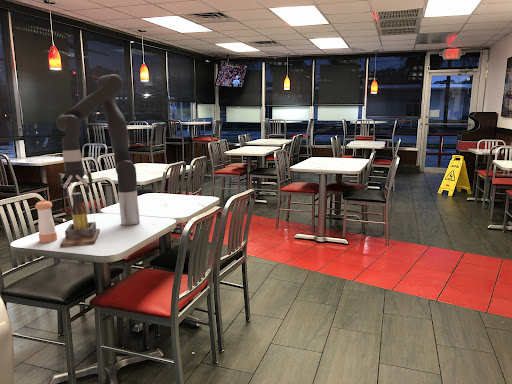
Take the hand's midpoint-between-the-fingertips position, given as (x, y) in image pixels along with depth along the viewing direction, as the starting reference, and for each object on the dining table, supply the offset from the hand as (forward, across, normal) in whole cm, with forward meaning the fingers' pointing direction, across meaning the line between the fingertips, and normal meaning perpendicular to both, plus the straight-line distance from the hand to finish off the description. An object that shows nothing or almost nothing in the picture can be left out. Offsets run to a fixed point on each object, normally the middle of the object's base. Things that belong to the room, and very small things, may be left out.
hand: (77, 195), depth 187 cm
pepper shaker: (+20, +15, -1) cm, 25 cm away
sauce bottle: (+19, 0, 0) cm, 19 cm away
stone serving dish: (+20, 0, +2) cm, 20 cm away
